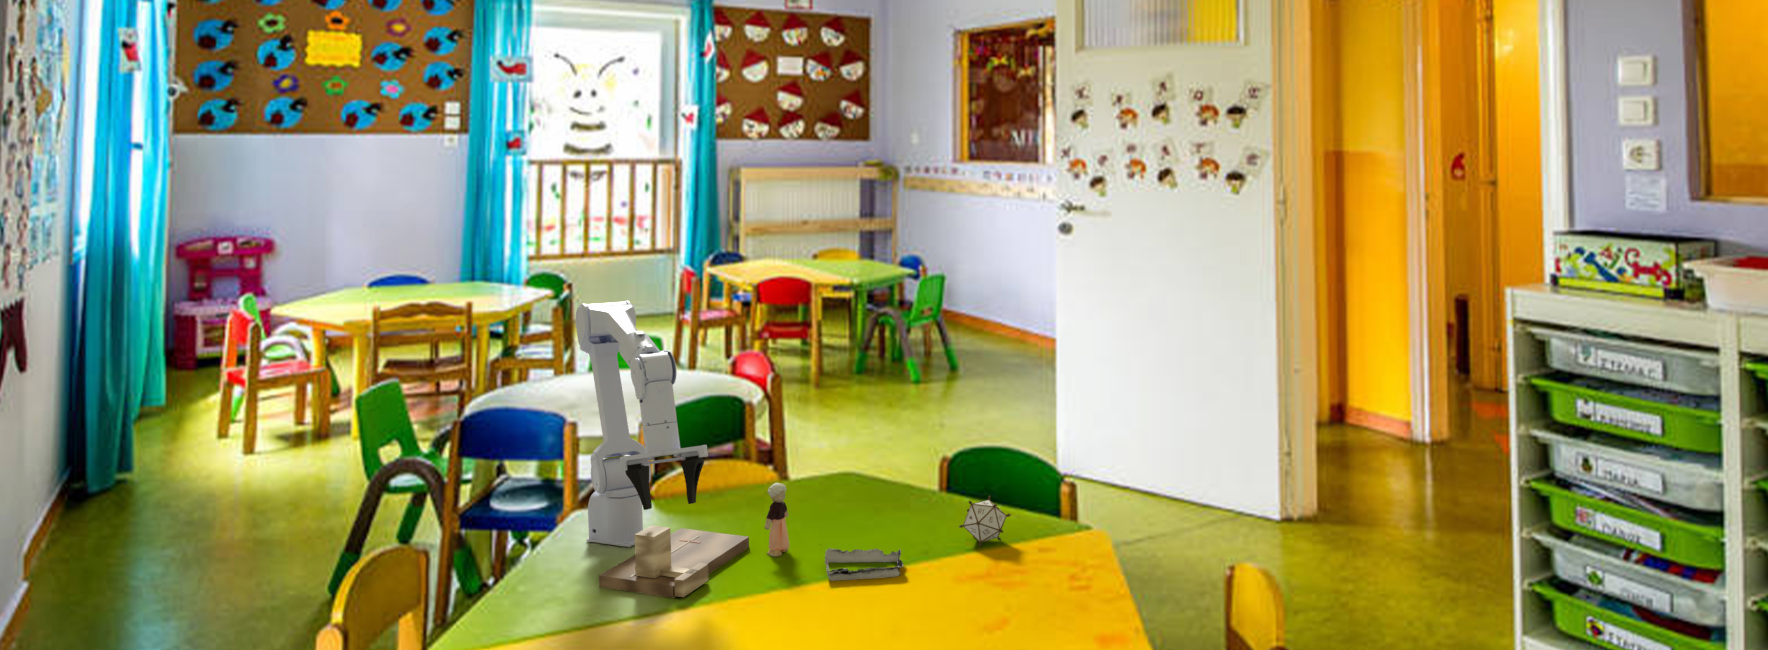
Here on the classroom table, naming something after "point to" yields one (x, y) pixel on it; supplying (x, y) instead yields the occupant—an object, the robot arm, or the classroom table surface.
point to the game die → (984, 520)
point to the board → (677, 561)
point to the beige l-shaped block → (665, 561)
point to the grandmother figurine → (777, 521)
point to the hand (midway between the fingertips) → (669, 506)
